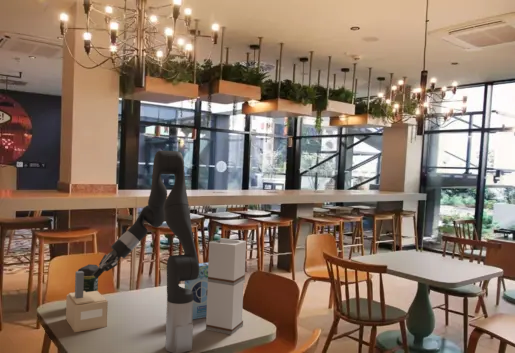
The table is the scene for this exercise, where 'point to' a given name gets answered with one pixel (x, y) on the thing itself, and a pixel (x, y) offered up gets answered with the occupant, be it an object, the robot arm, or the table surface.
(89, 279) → the coffee jar
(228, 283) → the white square pillar
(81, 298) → the flap
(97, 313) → the carton
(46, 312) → the table surface
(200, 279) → the gum box
